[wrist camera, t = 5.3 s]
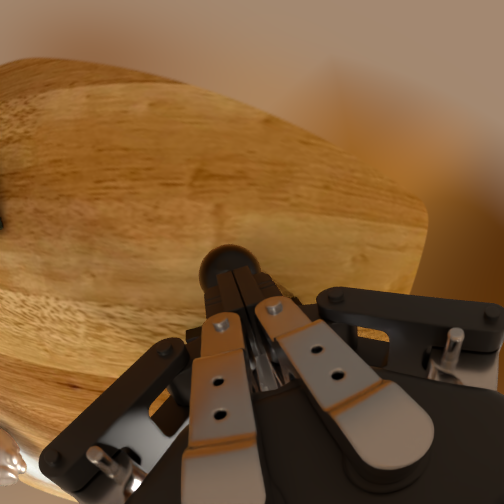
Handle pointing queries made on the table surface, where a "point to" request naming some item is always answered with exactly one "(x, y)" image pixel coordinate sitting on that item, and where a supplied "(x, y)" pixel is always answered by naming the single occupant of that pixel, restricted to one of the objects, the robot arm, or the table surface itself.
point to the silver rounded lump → (10, 460)
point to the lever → (227, 261)
